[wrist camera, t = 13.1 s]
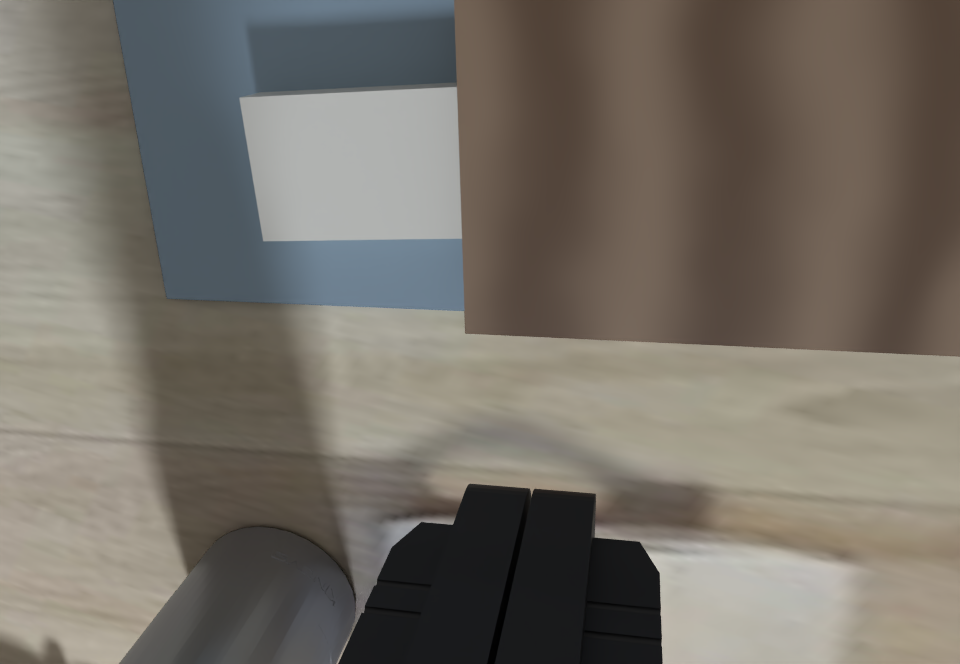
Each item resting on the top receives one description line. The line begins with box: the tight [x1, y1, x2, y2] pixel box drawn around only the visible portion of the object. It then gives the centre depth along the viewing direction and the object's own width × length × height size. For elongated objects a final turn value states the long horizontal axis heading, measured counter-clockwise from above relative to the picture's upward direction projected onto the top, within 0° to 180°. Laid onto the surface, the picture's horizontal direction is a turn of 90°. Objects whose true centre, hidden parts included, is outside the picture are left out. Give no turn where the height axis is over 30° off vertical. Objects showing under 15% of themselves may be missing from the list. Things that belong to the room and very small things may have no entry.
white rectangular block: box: [239, 82, 462, 241], centre depth 34 cm, size 9×6×2 cm, turn 94°
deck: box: [454, 0, 960, 356], centre depth 31 cm, size 20×13×4 cm, turn 92°
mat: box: [113, 0, 464, 311], centre depth 36 cm, size 15×14×1 cm
